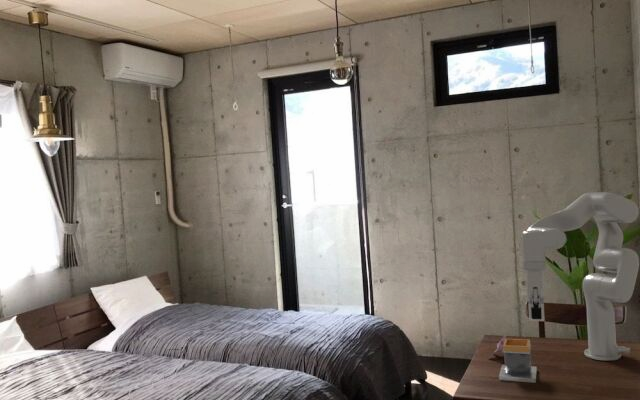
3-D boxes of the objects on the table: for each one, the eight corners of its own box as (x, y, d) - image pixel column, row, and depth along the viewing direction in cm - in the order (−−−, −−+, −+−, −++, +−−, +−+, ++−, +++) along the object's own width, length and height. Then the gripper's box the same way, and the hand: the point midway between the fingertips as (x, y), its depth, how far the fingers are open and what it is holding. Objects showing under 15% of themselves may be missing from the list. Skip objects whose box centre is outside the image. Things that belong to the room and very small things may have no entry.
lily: (506, 353, 230) (492, 332, 231) (527, 348, 220) (513, 327, 221) (489, 369, 223) (476, 348, 224) (511, 365, 213) (496, 343, 214)
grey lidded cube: (544, 317, 200) (543, 297, 199) (544, 321, 195) (543, 301, 195) (529, 317, 202) (528, 297, 201) (529, 320, 197) (528, 300, 197)
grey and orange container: (536, 370, 206) (535, 338, 205) (535, 382, 194) (533, 348, 194) (502, 368, 210) (500, 336, 210) (499, 380, 199) (497, 346, 199)
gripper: (523, 261, 207) (525, 310, 208) (522, 269, 191) (524, 322, 192) (545, 261, 204) (547, 311, 205) (546, 269, 188) (548, 323, 189)
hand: (536, 316), depth 198 cm, fingers closed on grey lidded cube, 5 cm apart
